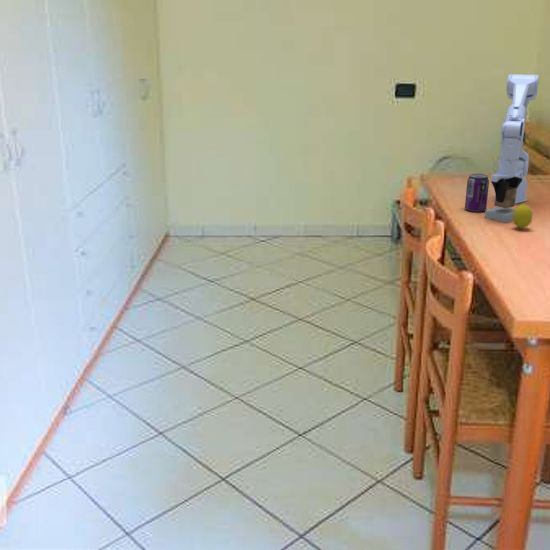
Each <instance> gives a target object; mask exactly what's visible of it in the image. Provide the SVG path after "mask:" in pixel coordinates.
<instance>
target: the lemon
mask: <svg viewBox="0 0 550 550" xmlns="http://www.w3.org/2000/svg"><path fill="white" fill-rule="evenodd" d="M514 210H515V211H514V214H513V221H512V222H513V223H514V225H515V226H516V227H517V228H518V229H520V230H523V229H524V228H526V227H528V226H529V225H530V224H531V222H532V220H533V212H532V211H533V210H532V209H531V208H530V206H528V205H527V204H525V203H523V204H521V205H518V206H517V207H516V208H515V209H514Z"/></svg>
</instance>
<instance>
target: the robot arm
mask: <svg viewBox="0 0 550 550" xmlns="http://www.w3.org/2000/svg"><path fill="white" fill-rule="evenodd" d="M539 82H540V75H539V74H520V73H519V74H518V73H517V74H515V73H510V74H508V76H507V81H506V88H505V89H506V96H507V98H508V99H510V100H512V104H510V105H508V108H507V109H506V115H505V119H504V121H503V122H502V124H501V131H500V137H501V139H500V145H501V147H500V154H499V160H498V165H497V171H496V173H494V174H491V176H490V182H491V184H492V187H493V189H494V193H495V195H496V201H497V202H501V203H502V202H503V201H504V197H505V193H506V189H507V187H508V186H509V187H513V188H517V191H516V198H515V205H516V204H520V203H524V202H527V201H528V199H527V198H526V197H527V191H528V190H527V188H528V180H527V178H526V177H527V175H528V171H529V170H528V169H529V162H530V161H529V160H530V159H529V158H530V155H529V153H528V152H526V150H524V149H523V143H524V135H525V128H526V119H527V113H528V112H527V111H528V106H529V104H530V102H531V101H533V100H535V99H536V98H537V94H538V90H539V85H540V83H539ZM493 201H494V202H495V198H494V199H493Z"/></svg>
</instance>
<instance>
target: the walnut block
mask: <svg viewBox="0 0 550 550" xmlns="http://www.w3.org/2000/svg"><path fill="white" fill-rule="evenodd" d="M516 191H517V188H513V187H509V186H508V187H507V189H506V193H505V197H504V201H503V202H502V203H501V202H497V201H496V194H495V196H494V199H495V201H494V204H493V205H494V206H495V207H502V208H509V209H511V208H513V207H515V206H516V204H515V198H516Z"/></svg>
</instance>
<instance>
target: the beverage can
mask: <svg viewBox="0 0 550 550" xmlns="http://www.w3.org/2000/svg"><path fill="white" fill-rule="evenodd" d="M468 175H469V176H468V178H467V182H466V191H465V201H464V203H465V204H464V208H465V209H466V210H467V211H469V212H473V213H480V212H483V211H485V210H487V206H488V195H489V189H490V188H489V185H490V180H489V175H488V174H483V173H470V174H468Z"/></svg>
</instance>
